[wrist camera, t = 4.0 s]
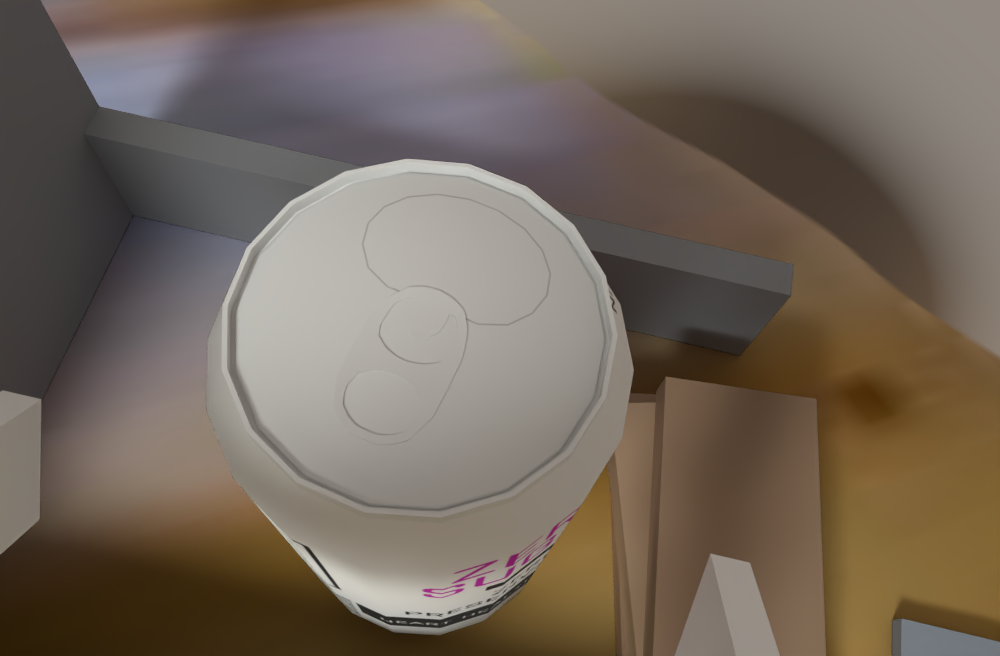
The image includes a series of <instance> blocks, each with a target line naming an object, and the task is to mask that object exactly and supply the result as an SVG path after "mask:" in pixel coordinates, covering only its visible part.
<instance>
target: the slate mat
mask: <svg viewBox="0 0 1000 656" xmlns="http://www.w3.org/2000/svg"><path fill="white" fill-rule="evenodd" d="M892 656H1000V642H998V641H994V640H990V639H986V638H982V637H977V636H973V635H969V634H965V633H961V632H957V631H952V630H948V629H944V628H940V627H936V626H931V625H927V624H923V623H919V622H915V621H911V620H906V619H902V618H901V619H896V620H892Z"/></svg>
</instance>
